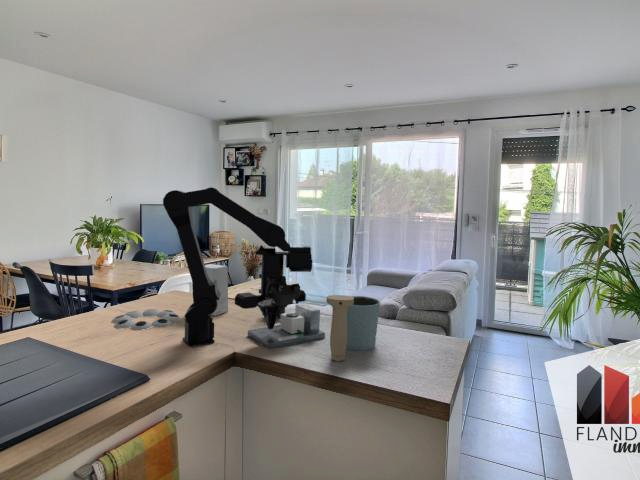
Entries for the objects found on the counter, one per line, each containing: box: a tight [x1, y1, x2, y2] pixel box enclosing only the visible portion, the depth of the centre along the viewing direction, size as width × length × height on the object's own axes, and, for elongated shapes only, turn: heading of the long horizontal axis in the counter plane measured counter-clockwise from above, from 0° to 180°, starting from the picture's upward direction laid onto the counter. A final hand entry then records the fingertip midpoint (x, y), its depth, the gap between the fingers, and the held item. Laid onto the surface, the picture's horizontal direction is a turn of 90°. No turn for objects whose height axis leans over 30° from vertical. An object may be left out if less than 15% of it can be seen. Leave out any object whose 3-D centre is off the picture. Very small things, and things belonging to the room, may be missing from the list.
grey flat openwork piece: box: [110, 308, 182, 331], centre depth 119 cm, size 20×20×2 cm
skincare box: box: [204, 263, 229, 317], centre depth 129 cm, size 8×7×16 cm
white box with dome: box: [279, 311, 304, 334], centre depth 108 cm, size 6×8×4 cm, turn 36°
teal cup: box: [346, 295, 381, 351], centre depth 103 cm, size 10×10×12 cm
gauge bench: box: [247, 303, 326, 350], centre depth 108 cm, size 18×12×8 cm
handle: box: [326, 294, 354, 363], centre depth 93 cm, size 5×6×15 cm
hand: (270, 329), depth 105 cm, fingers closed
